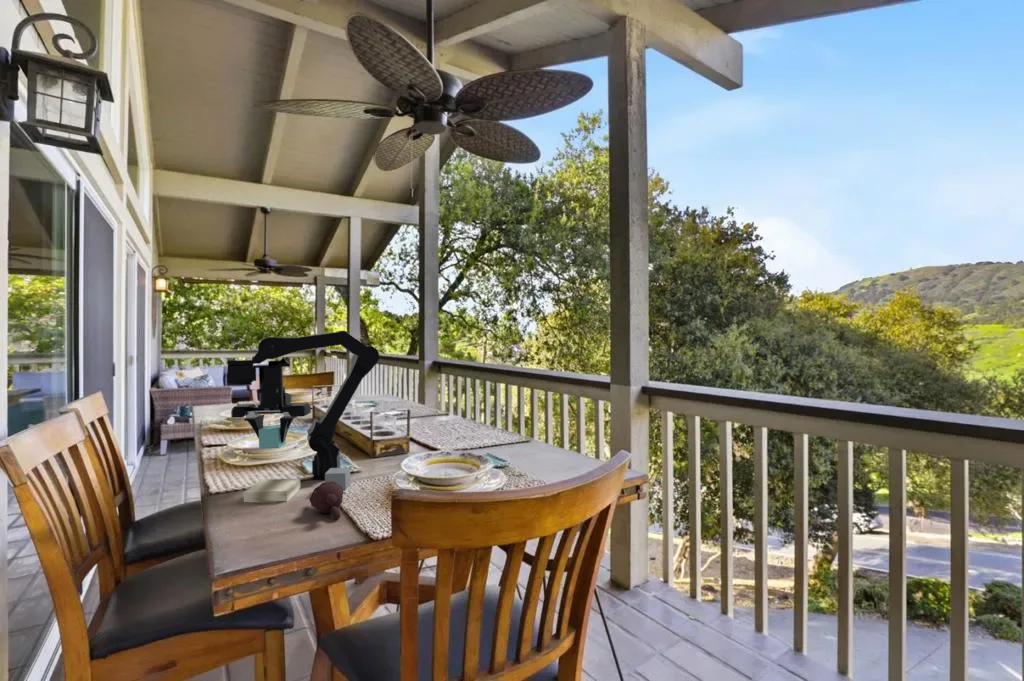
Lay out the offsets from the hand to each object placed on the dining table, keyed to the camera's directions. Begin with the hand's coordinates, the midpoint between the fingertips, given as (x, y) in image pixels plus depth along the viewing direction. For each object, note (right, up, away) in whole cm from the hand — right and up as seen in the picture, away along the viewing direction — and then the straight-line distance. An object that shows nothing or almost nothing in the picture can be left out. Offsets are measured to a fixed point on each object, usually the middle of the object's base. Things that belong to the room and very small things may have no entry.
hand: (272, 442), depth 139 cm
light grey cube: (+19, -11, -5) cm, 23 cm away
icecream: (+22, -12, -21) cm, 32 cm away
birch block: (+4, -12, -9) cm, 16 cm away
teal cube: (0, -1, 0) cm, 1 cm away
